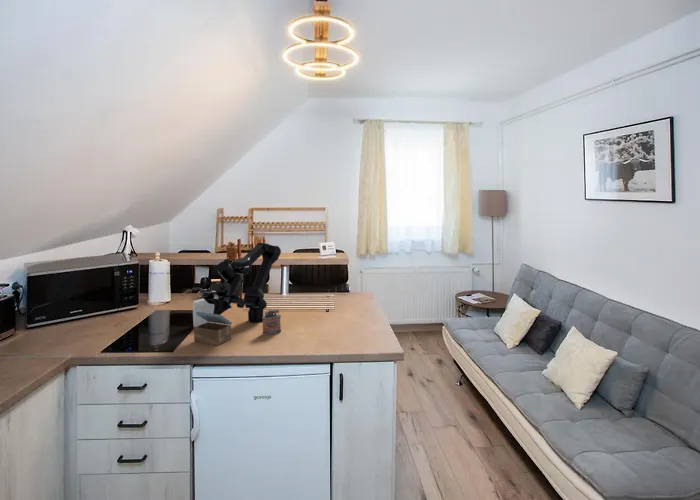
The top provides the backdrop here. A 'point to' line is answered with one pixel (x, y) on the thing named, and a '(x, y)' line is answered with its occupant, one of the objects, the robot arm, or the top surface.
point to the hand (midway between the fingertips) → (214, 317)
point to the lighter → (271, 322)
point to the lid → (214, 318)
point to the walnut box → (212, 333)
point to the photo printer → (201, 307)
